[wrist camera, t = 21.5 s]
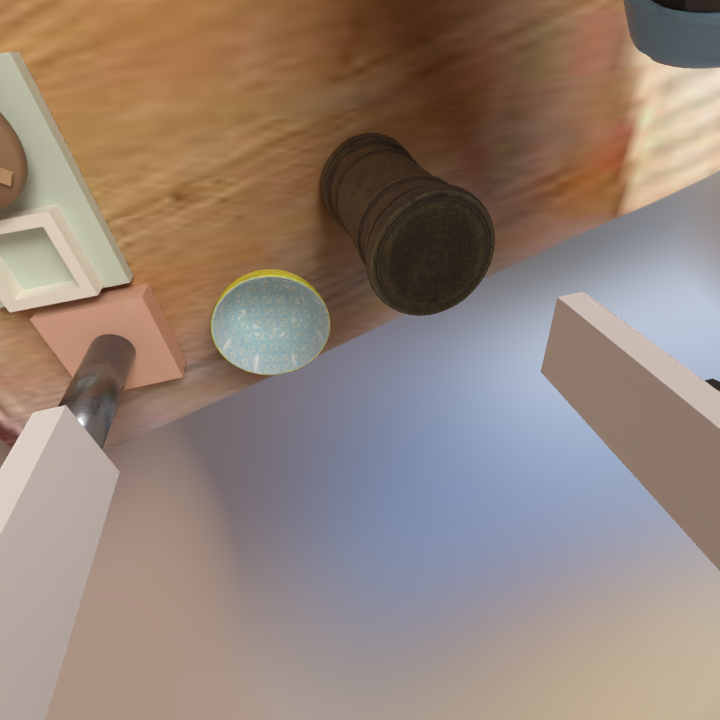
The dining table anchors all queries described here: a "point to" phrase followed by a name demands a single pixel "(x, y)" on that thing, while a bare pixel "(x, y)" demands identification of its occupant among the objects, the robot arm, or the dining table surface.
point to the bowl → (270, 322)
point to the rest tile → (114, 332)
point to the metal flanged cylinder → (100, 384)
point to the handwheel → (11, 164)
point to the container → (407, 225)
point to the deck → (49, 211)
